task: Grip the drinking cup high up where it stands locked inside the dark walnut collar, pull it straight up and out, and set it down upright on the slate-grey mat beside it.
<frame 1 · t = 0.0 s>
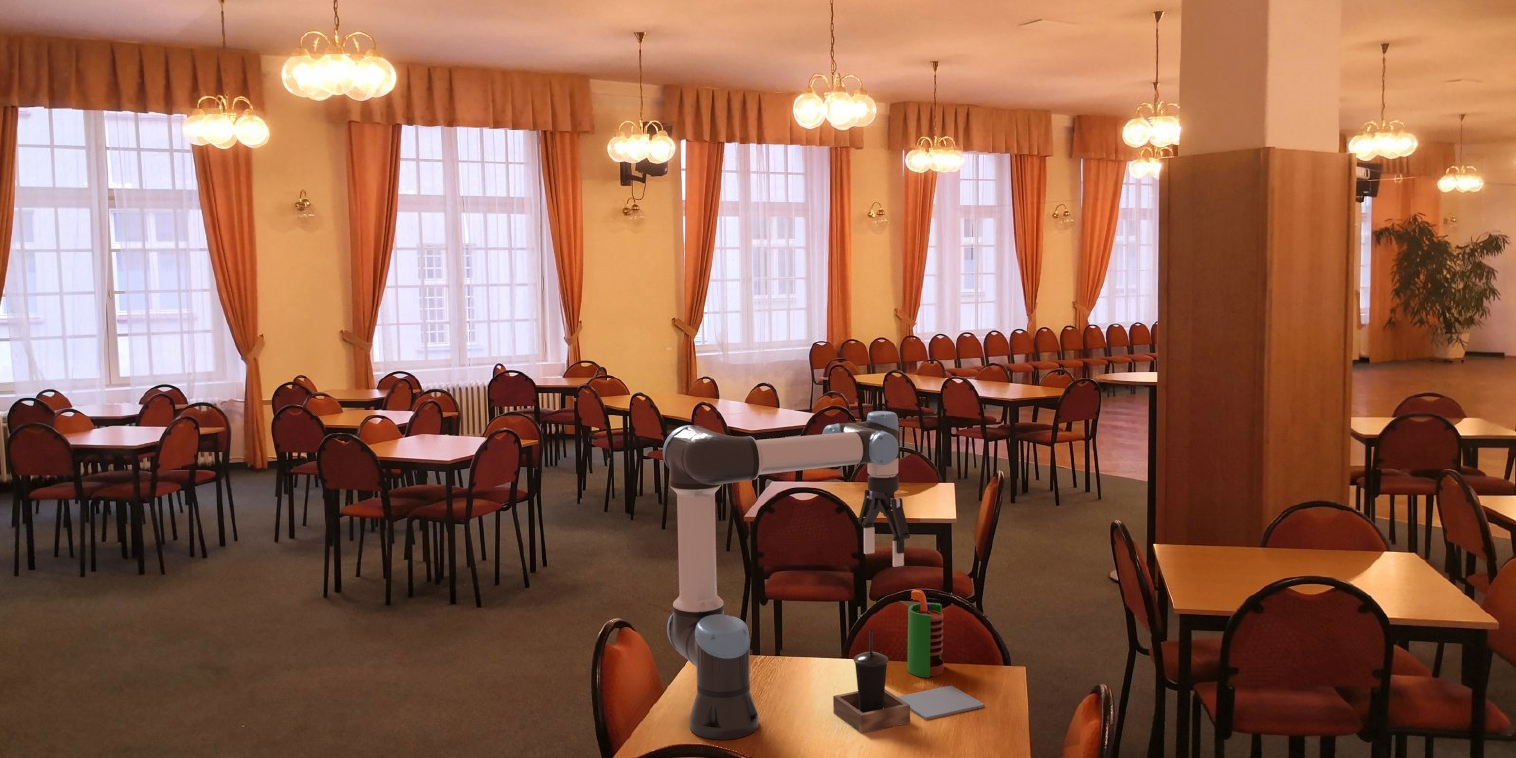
hand: (883, 559, 276), 28 cm above the table, tool pointing down, fingers open, 13 cm apart
drinking cup: (871, 718, 249), resting in walnut collar
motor: (925, 671, 278), on the table
slate mat: (938, 703, 257), on the table
walnut collar: (871, 717, 249), on the table
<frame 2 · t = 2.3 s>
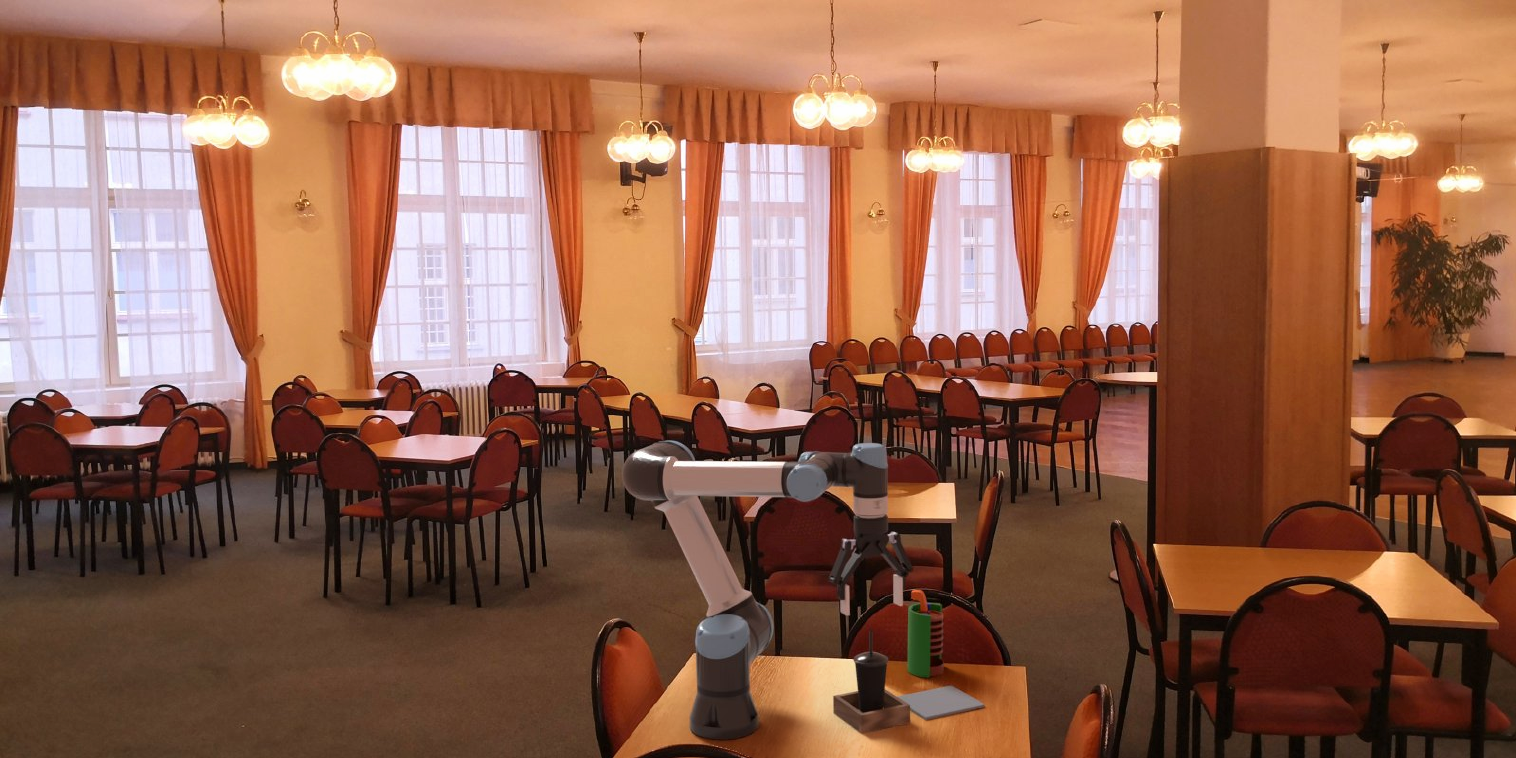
hand: (871, 609, 246), 25 cm above the table, tool pointing down, fingers open, 13 cm apart
nothing on the table moved.
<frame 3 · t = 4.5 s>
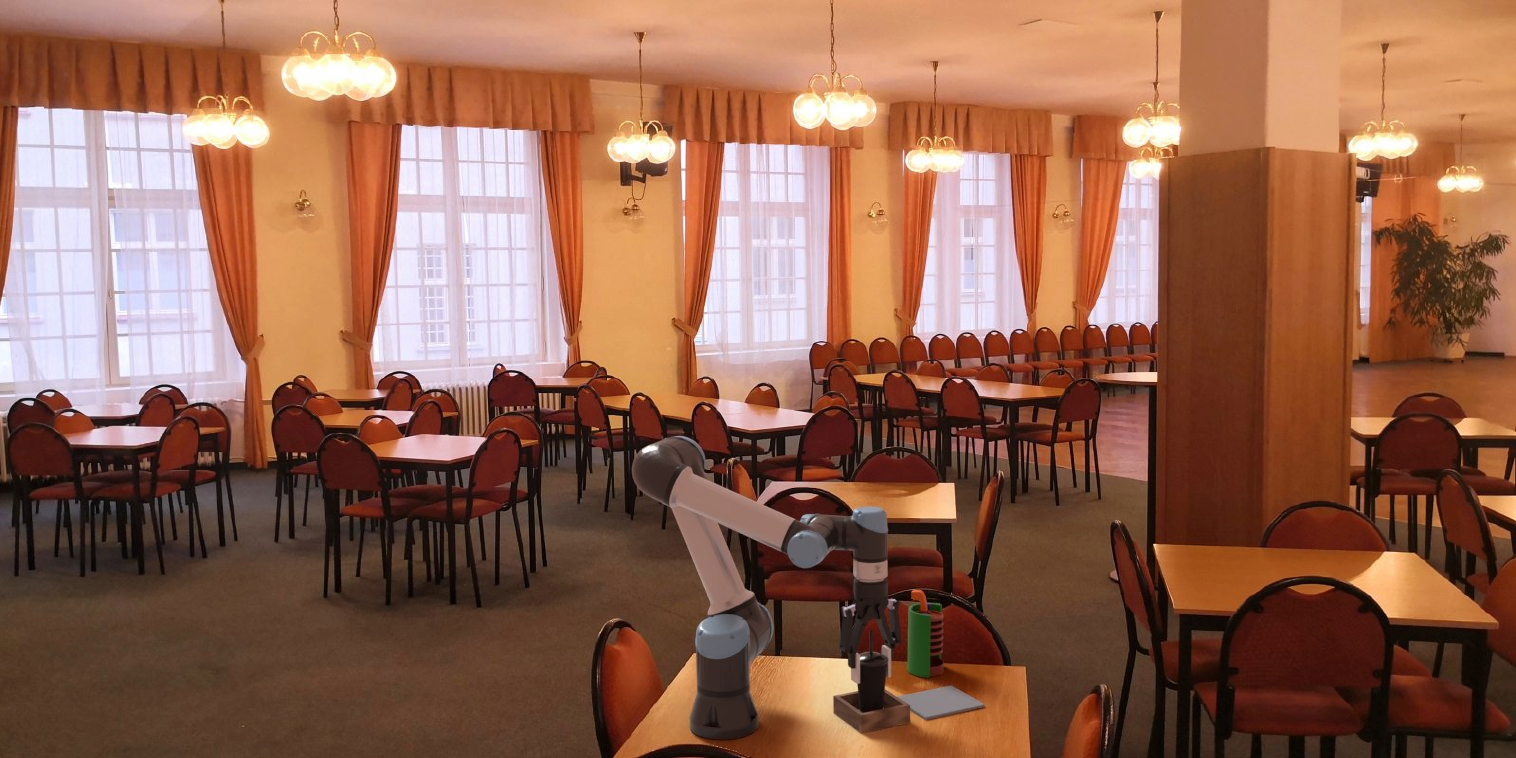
hand: (871, 678, 248), 9 cm above the table, tool pointing down, fingers closed on drinking cup, 7 cm apart
drinking cup: (871, 718, 249), resting in walnut collar, touching gripper
everything else where it was.
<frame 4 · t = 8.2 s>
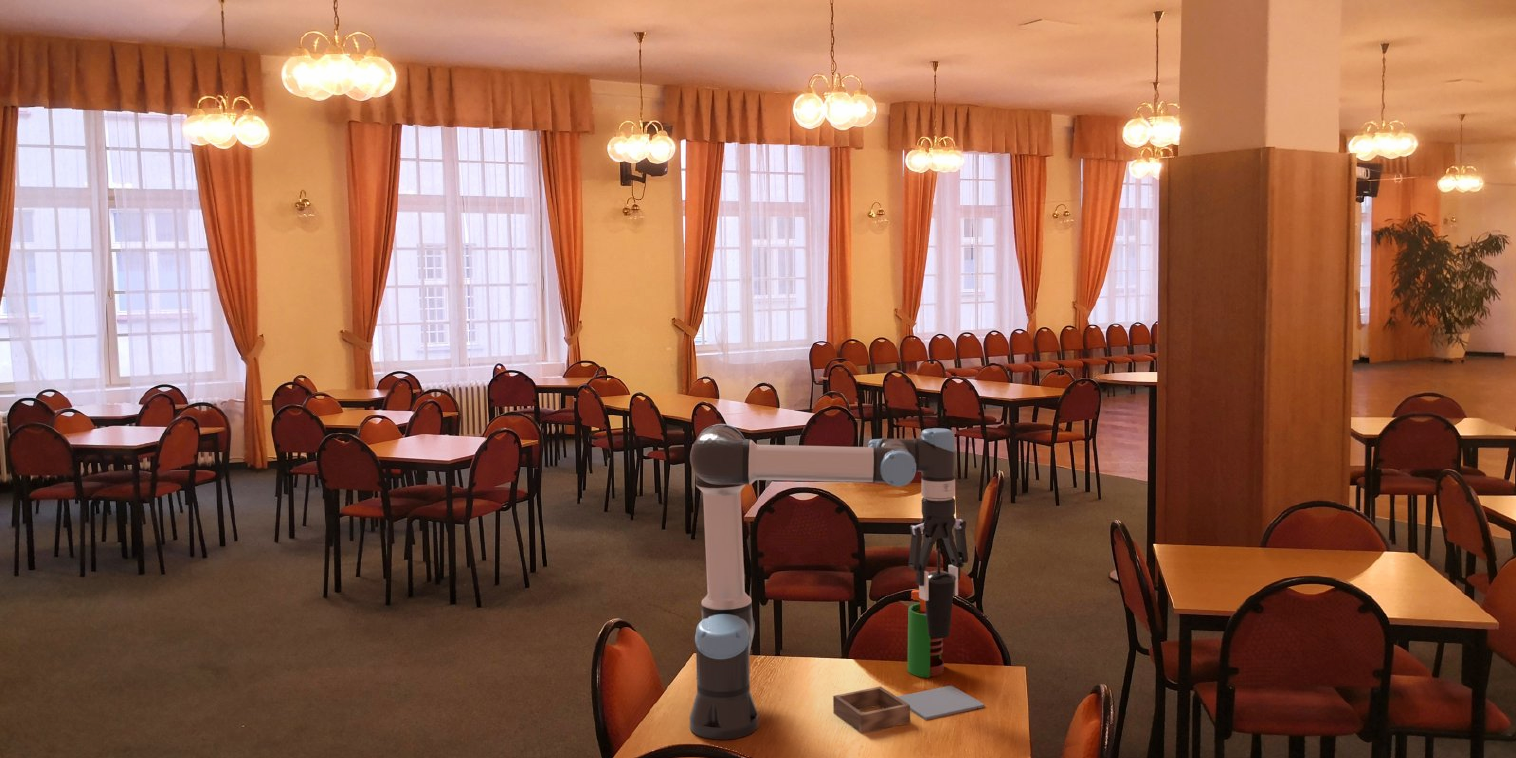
hand: (938, 596, 254), 25 cm above the table, tool pointing down, fingers closed on drinking cup, 7 cm apart
drinking cup: (938, 636, 255), point 16 cm above the table, touching gripper
everything else where it was.
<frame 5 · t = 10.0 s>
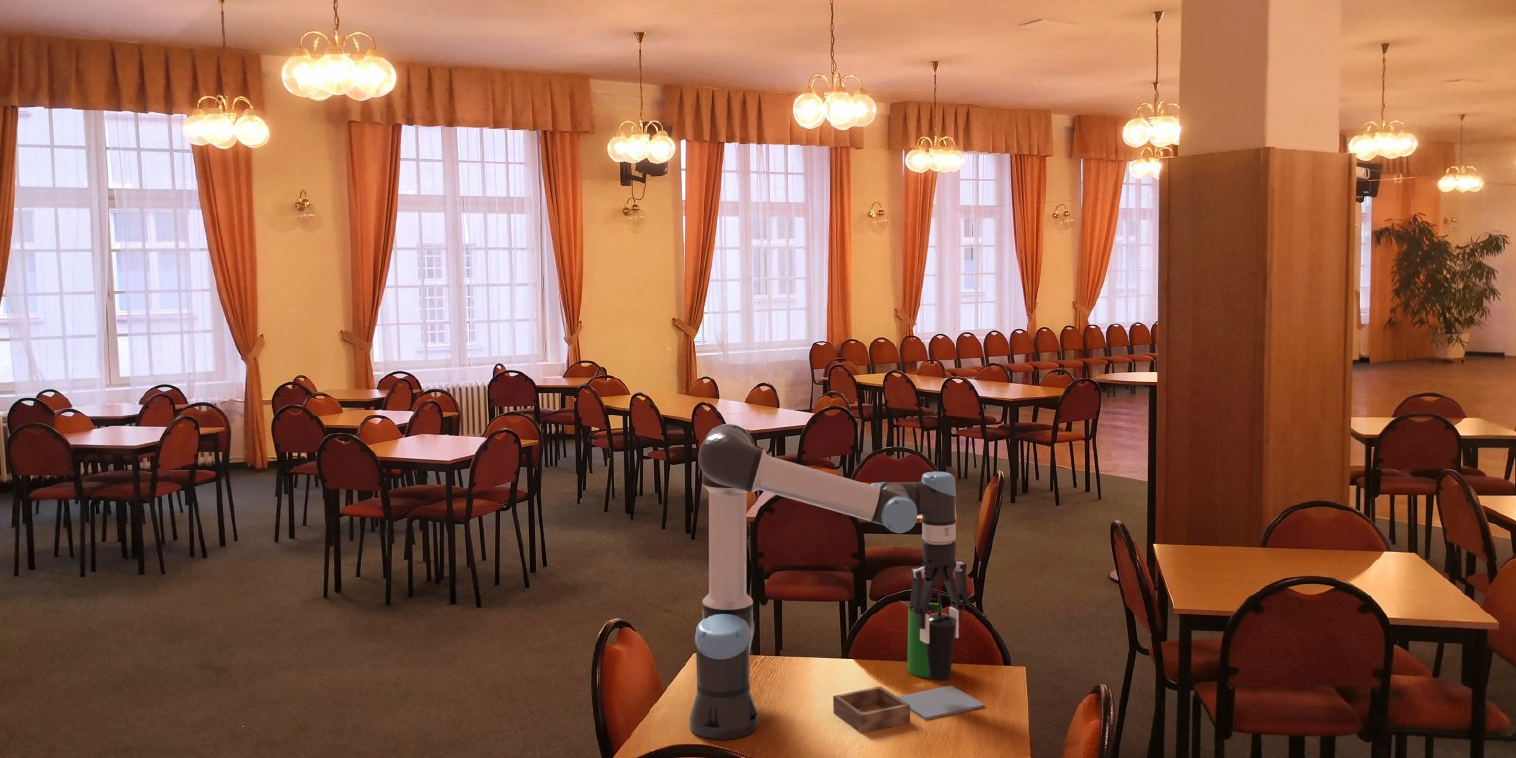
hand: (939, 638, 255), 15 cm above the table, tool pointing down, fingers closed on drinking cup, 7 cm apart
drinking cup: (939, 678, 256), point 6 cm above the table, touching gripper
everything else where it was.
when the fingers open (10 cm above the table, at t = 11.8 s): drinking cup stays where it is, resting on slate mat.
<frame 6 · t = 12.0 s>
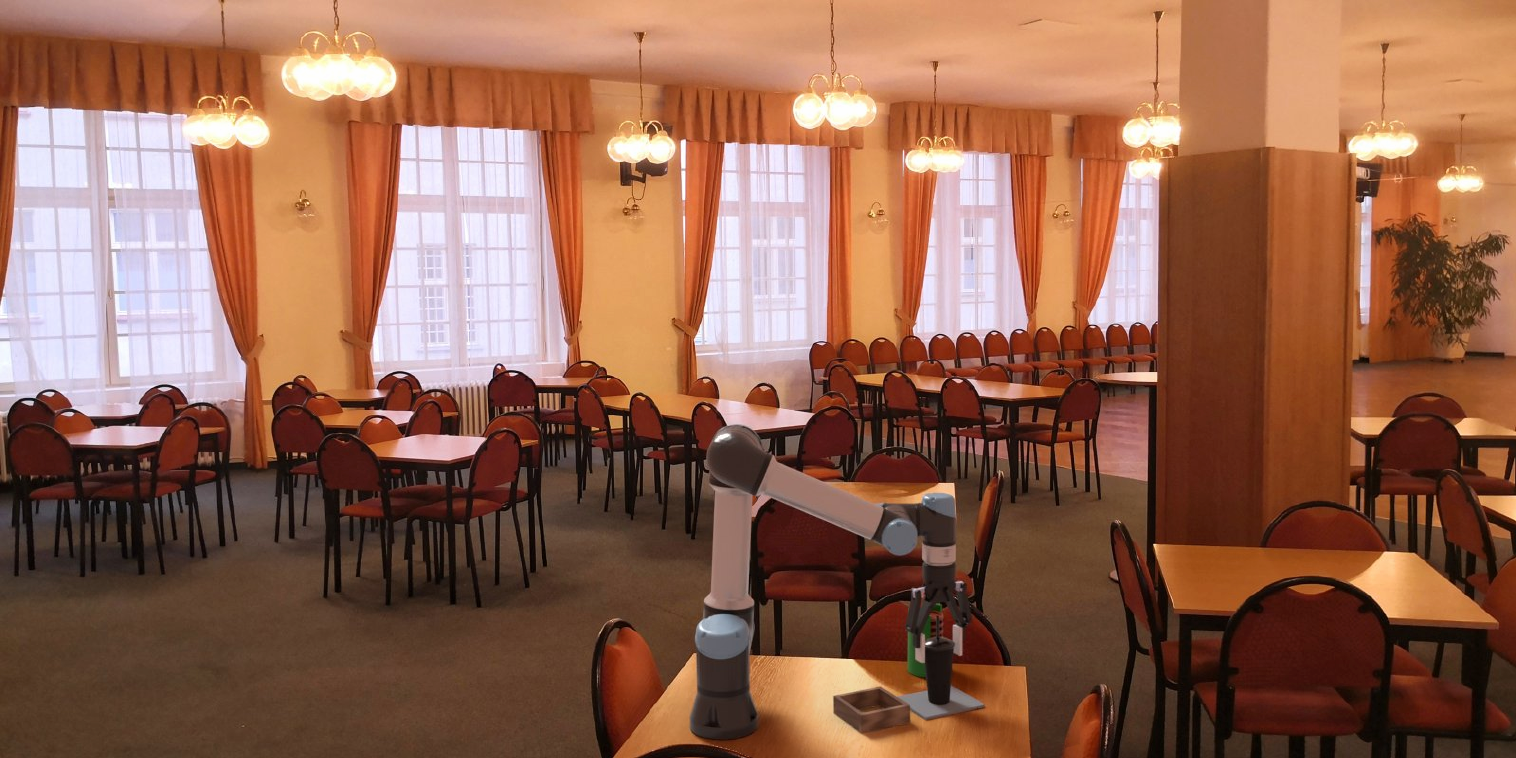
hand: (938, 657, 255), 11 cm above the table, tool pointing down, fingers open, 9 cm apart
drinking cup: (939, 701, 256), resting on slate mat
everything else where it was.
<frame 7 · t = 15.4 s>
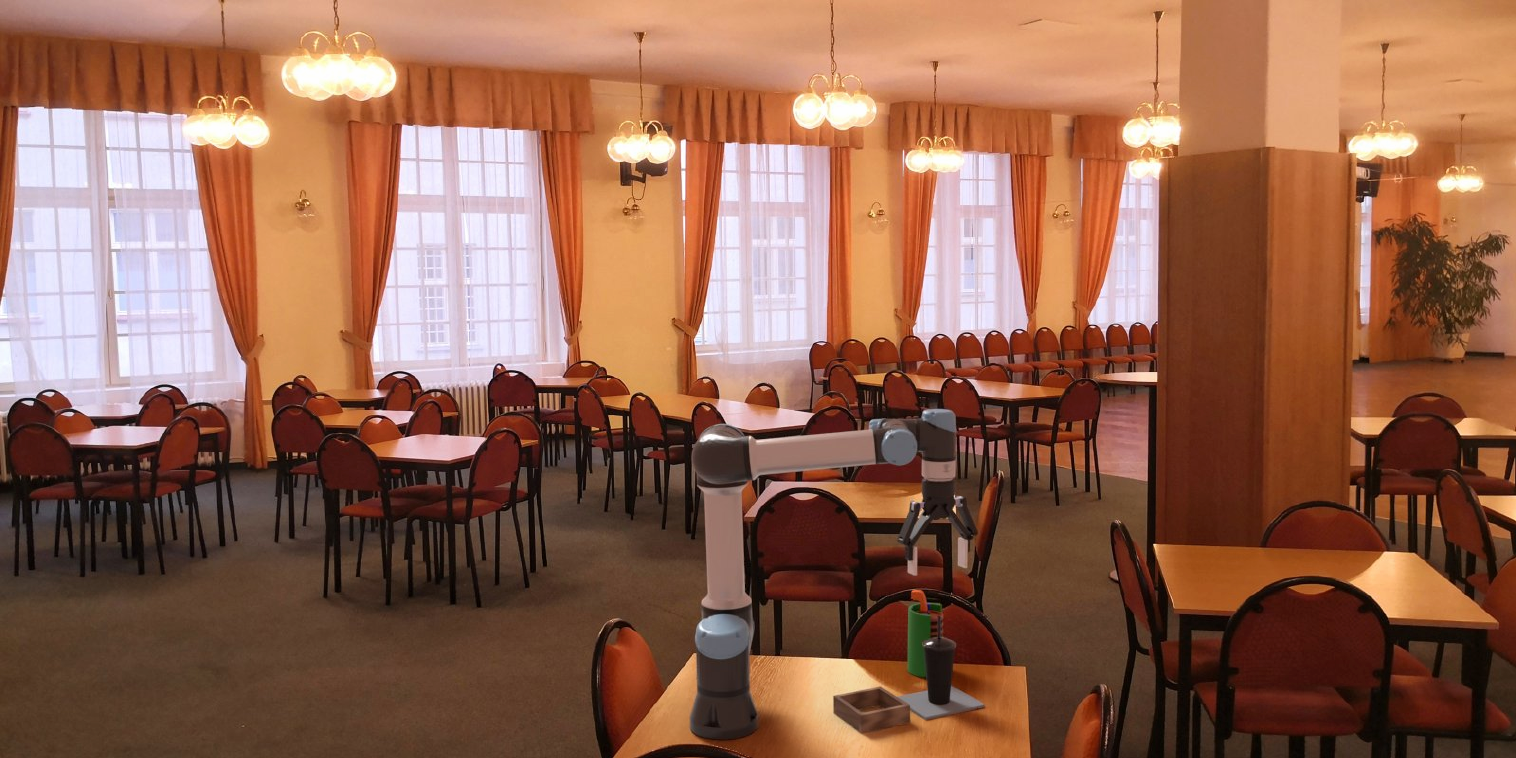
hand: (937, 570, 253), 31 cm above the table, tool pointing down, fingers open, 13 cm apart
nothing on the table moved.
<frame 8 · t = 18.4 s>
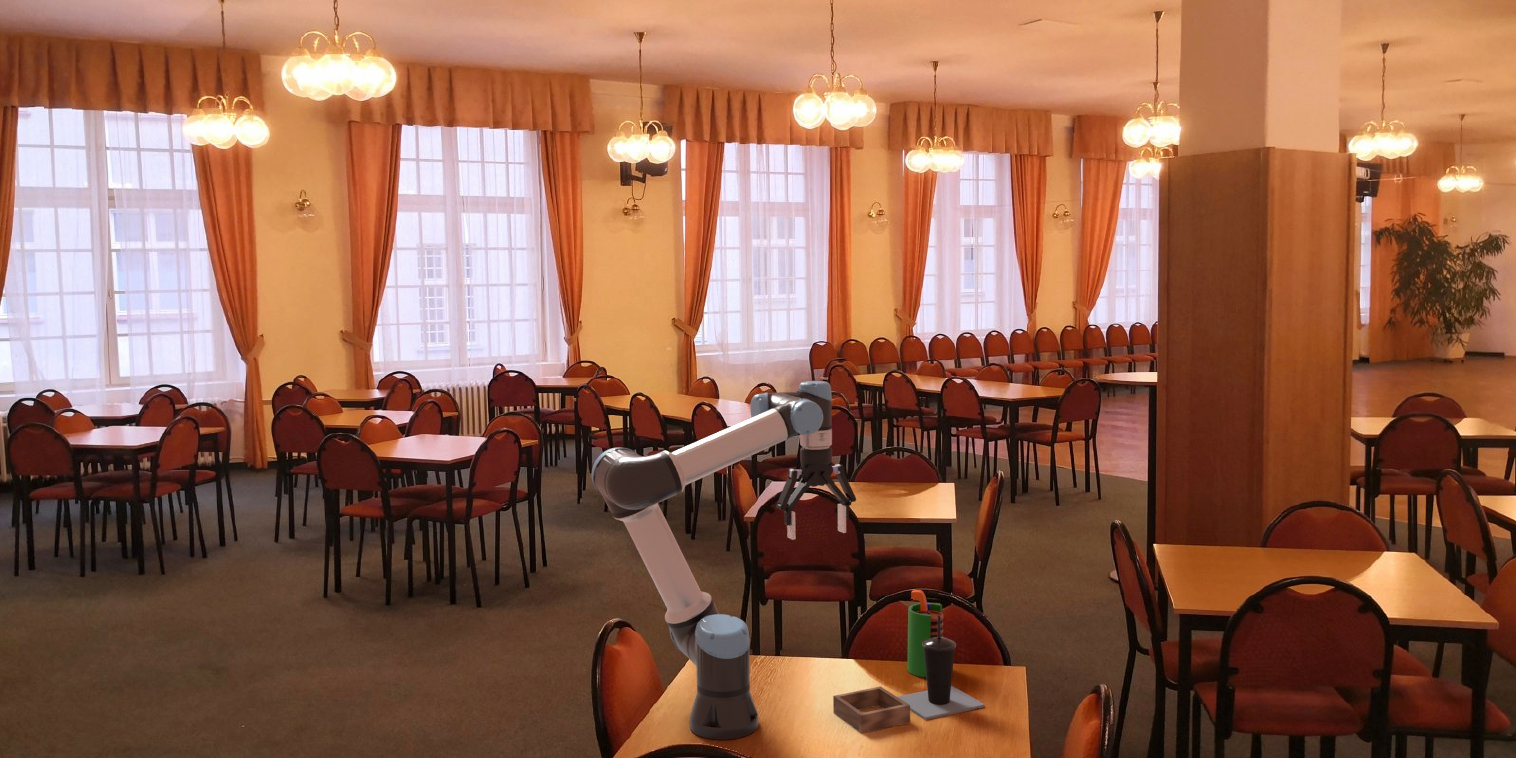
hand: (817, 535, 266), 37 cm above the table, tool pointing down, fingers open, 13 cm apart
nothing on the table moved.
at the end: drinking cup inside the target area on the slate mat (0.1 cm from its centre), point 0.4 cm above the slate mat's base; drinking cup tilted 0°; the gripper is holding nothing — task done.
